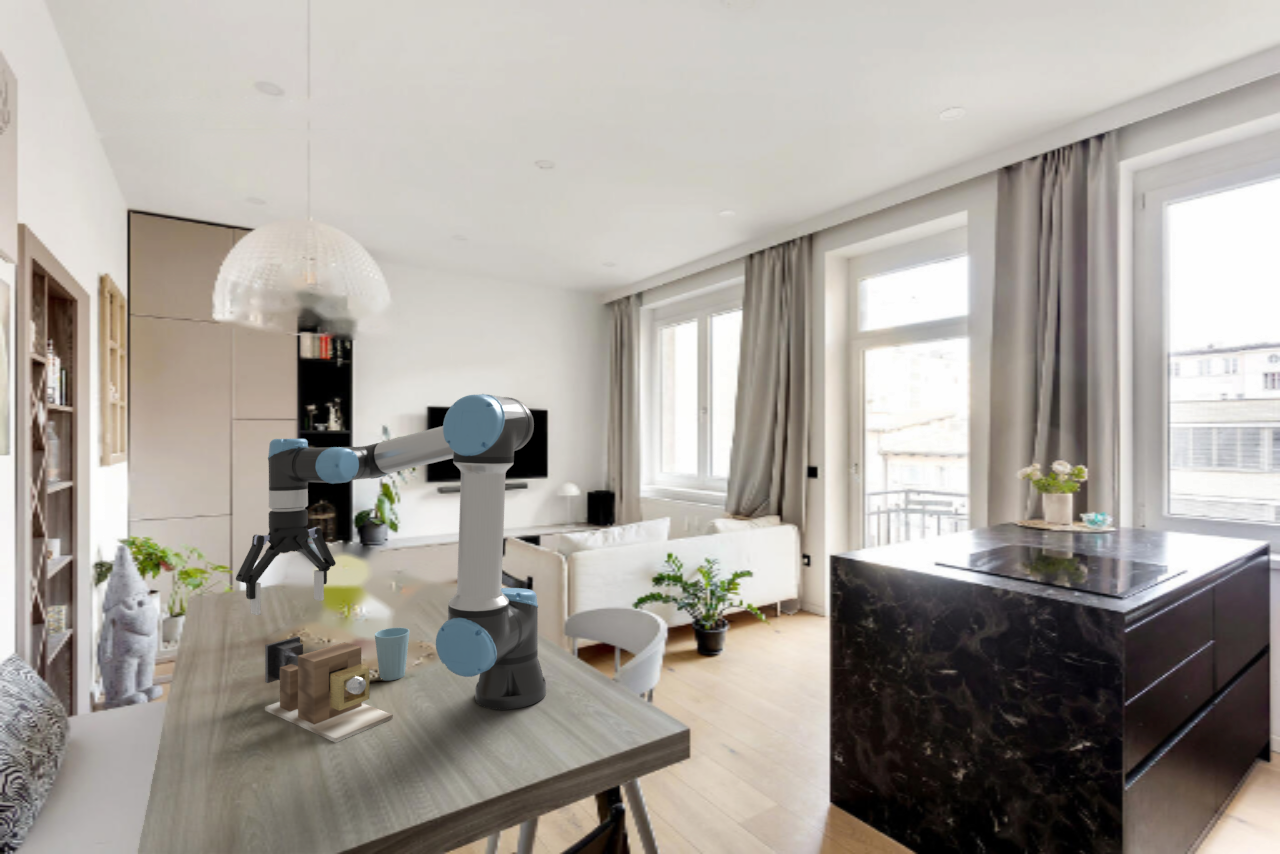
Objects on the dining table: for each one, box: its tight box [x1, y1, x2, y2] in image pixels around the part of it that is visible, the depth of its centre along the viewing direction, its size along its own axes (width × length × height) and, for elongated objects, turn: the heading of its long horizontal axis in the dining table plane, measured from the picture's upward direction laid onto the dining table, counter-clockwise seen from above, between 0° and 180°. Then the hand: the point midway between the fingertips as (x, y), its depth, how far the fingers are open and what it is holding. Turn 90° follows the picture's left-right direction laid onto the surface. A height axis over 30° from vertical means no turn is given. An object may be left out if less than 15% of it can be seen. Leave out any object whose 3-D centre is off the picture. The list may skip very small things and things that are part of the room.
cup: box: [374, 627, 410, 682], centre depth 151 cm, size 8×8×10 cm
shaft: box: [264, 636, 366, 695], centre depth 133 cm, size 29×7×8 cm, turn 56°
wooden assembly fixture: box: [264, 641, 394, 743], centre depth 131 cm, size 26×12×13 cm, turn 56°
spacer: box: [330, 663, 370, 711], centre depth 127 cm, size 3×6×6 cm, turn 146°
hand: (288, 606), depth 140 cm, fingers open, 13 cm apart
